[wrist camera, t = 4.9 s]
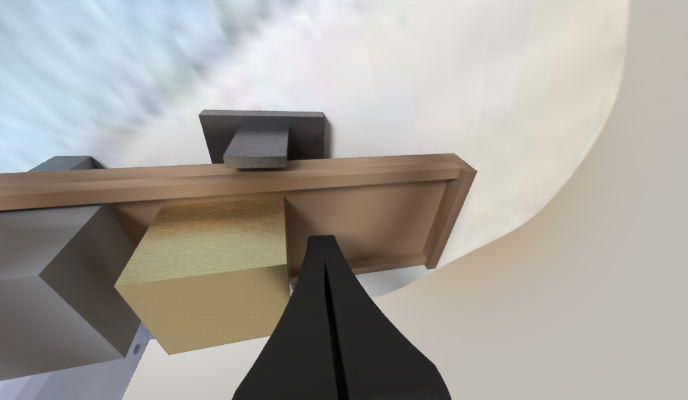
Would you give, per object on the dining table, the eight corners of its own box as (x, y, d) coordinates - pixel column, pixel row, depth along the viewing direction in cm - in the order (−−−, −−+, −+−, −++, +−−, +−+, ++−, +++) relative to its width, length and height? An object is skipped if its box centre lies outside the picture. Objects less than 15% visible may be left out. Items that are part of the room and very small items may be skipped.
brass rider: (194, 274, 13) (168, 354, 10) (162, 205, 10) (113, 286, 7) (290, 261, 14) (294, 331, 11) (283, 196, 11) (286, 263, 8)
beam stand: (122, 255, 17) (77, 314, 14) (20, 106, 11) (-102, 145, 8) (321, 242, 19) (326, 291, 16) (322, 112, 13) (330, 144, 10)
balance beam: (65, 292, 13) (-13, 395, 10) (-53, 175, 9) (-272, 282, 5) (421, 245, 18) (458, 304, 14) (453, 153, 13) (518, 203, 10)
